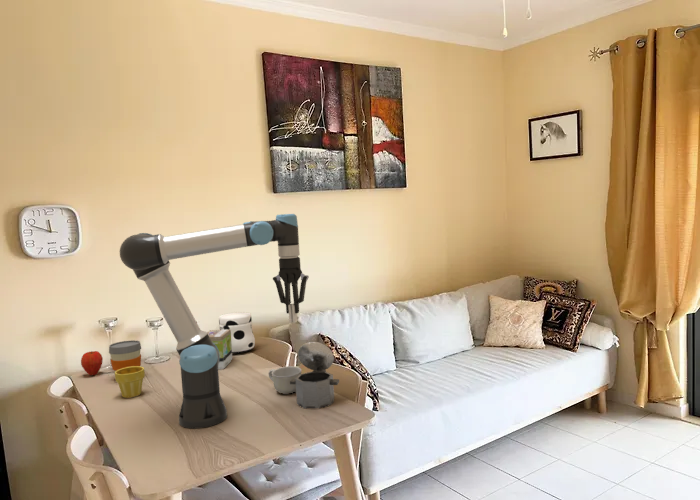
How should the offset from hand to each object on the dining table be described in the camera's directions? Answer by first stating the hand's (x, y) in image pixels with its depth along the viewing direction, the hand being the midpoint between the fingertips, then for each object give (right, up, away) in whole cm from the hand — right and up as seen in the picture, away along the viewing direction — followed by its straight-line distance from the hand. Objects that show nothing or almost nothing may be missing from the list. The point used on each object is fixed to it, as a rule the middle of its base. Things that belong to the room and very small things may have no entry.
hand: (293, 322), depth 194 cm
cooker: (+8, -27, -8) cm, 29 cm away
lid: (+8, -11, -6) cm, 15 cm away
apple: (-92, -29, +42) cm, 105 cm away
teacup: (-4, -27, +6) cm, 28 cm away
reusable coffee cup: (-73, -29, +33) cm, 85 cm away
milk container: (-35, -24, +69) cm, 81 cm away
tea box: (-39, -26, +47) cm, 66 cm away
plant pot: (-63, -30, +11) cm, 70 cm away
